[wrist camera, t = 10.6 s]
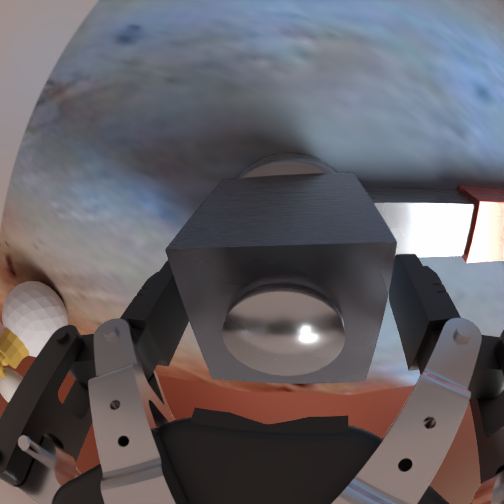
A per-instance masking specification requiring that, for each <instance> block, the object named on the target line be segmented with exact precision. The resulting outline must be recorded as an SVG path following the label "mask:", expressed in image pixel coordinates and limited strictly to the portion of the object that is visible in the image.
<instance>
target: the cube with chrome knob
mask: <svg viewBox="0 0 504 504" xmlns="http://www.w3.org/2000/svg"><path fill="white" fill-rule="evenodd" d="M396 246H397V241H396V239H395V237H394V236H393V234H392V232H391V230H390V229H389V227H388V225H387V224H386V222H385V220H384V219H383V217H382V215H381V214H380V212H379V211H378V209H377V207H376V206H375V204H374V203H373V201H372V200H371V198H370V197H369V195H368V194H367V192H366V191H365V189H364V188H363V186H362V185H361V183H360V182H359V180H358V179H357V177H356V176H355V174H354V173H311V174H290V175H273V176H259V177H247V178H236V179H225V180H222V181H221V182H220V184H219V185H218V186H217V187H216V188H215V189H214V190H213V192H212V193H211V194H210V195H209V196H208V198H207V199H206V200H205V201H204V202H203V203H202V205H201V206H200V207H199V208H198V209H197V211H196V212H195V213H194V214H193V216H192V217H191V218H190V219H189V220H188V222H187V223H186V224H185V225H184V227H183V228H182V229H181V230H180V232H179V233H178V234H177V235H176V237H175V238H174V239H173V240H172V242H171V243H170V244H169V246H168V247H167V248H166V249H165V250H166V253H167V257H168V260H169V263H170V266H171V269H172V272H173V275H174V278H175V281H176V284H177V287H178V290H179V293H180V296H181V299H182V302H183V305H184V307H185V310H186V313H187V316H188V318H189V321H190V324H191V326H192V329H193V332H194V334H195V337H196V340H197V342H198V345H199V347H200V350H201V352H202V355H203V357H204V360H205V362H206V365H207V367H208V369H209V372H210V374H211V376H212V379H220V380H231V381H245V382H262V383H339V382H357V381H365V380H366V377H367V374H368V370H369V367H370V364H371V361H372V357H373V354H374V350H375V347H376V343H377V340H378V336H379V332H380V328H381V324H382V320H383V316H384V311H385V307H386V302H387V298H388V293H389V288H390V283H391V277H392V272H393V266H394V260H395V253H396Z"/></svg>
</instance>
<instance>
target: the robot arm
mask: <svg viewBox="0 0 504 504" xmlns="http://www.w3.org/2000/svg"><path fill="white" fill-rule="evenodd" d="M389 301H390V305H391V308H392V311H393V315H394V318H395V321H396V325H397V328H398V331H399V335H400V338H401V342H402V346H403V350H404V353H405V357H406V361H407V365H408V370H409V371H410V370H417V369H419V370H420V374H421V376H420V377H419V379H418V381H417V383H416V385H415V387H414V389H413V390H412V392H411V394H410V396H409V398H408V399H407V401H406V403H405V405H404V406H403V408H402V409H401V411H400V413H399V414H398V416H397V418H396V419H395V421H394V422H393V424H392V425H391V427H390V428H389V430H388V431H387V433H386V434H385V435H384V437H383V438H382V439H381V438H380V437H378V436H376V435H375V434H373V433H371V432H369V431H367V430H364V429H361V428H358V427H355V426H349V425H348V416H335V417H334V416H333V417H307V418H302V419H298V420H293V421H287V422H282V423H276V424H263V423H260V422H256V421H253V420H250V419H247V418H244V417H241V416H238V415H235V414H232V413H229V412H221V411H213V410H206V409H199V408H195V409H194V412H193V415H192V417H188V418H182V419H178V420H175V419H174V417H173V416H172V414H171V412H170V410H169V407H168V404H167V402H166V399H165V396H164V394H163V391H162V388H161V385H160V382H159V379H158V376H157V374H156V372H155V368H156V366H157V365H163V366H169V364H170V362H171V359H172V357H173V355H174V353H175V350H176V348H177V346H178V344H179V342H180V339H181V337H182V335H183V333H184V331H185V328H186V326H187V324H188V322H189V318H188V316H187V313H186V310H185V307H184V305H183V302H182V299H181V296H180V293H179V290H178V287H177V284H176V281H175V278H174V275H173V272H172V269H171V266H170V263H169V260H168V261H167V262H166V263H165V264H164V266H163V267H162V268H161V270H160V271H159V272H157V273H155V274H154V275H153V276H151V277H150V278H149V279H148V280H147V281H146V282H145V284H144V285H143V286H142V289H140V291H139V292H138V293H137V296H135V298H134V299H133V300H132V302H131V303H130V305H129V306H128V308H127V309H126V310H125V312H124V313H123V315H122V316H121V318H120V319H119V318H117V319H111V320H108V321H106V322H104V323H103V324H101V325H100V326H99V327H98V328H97V330H96V331H95V333H94V334H89V335H80V333H79V332H78V330H77V328H76V327H75V326H73V325H66V326H63V327H61V328H59V329H58V330H56V331H55V332H54V333H53V334H52V336H51V337H50V338H49V340H48V341H47V343H46V344H45V346H44V347H43V348H42V350H41V351H40V353H39V354H38V356H37V357H36V359H35V360H34V362H33V363H32V365H31V367H30V368H29V370H28V371H27V373H26V374H25V376H24V378H23V379H22V381H21V383H20V384H19V386H18V388H17V389H16V391H15V393H14V394H13V396H12V398H11V400H10V401H9V403H8V405H7V407H6V409H5V411H4V413H3V415H2V416H1V418H0V479H2V480H4V481H5V482H7V483H8V484H9V485H11V486H12V487H14V488H16V489H18V490H20V491H22V492H24V493H25V494H27V495H28V496H29V497H31V498H32V499H33V500H35V501H36V502H37V503H39V504H449V503H448V502H447V501H446V500H445V499H444V498H443V497H442V496H441V495H439V494H438V493H437V492H436V491H435V490H434V489H433V488H432V487H431V486H430V483H431V481H432V479H433V478H434V476H435V474H436V473H437V471H438V469H439V467H440V465H441V463H442V462H443V460H444V458H445V456H446V454H447V452H448V450H449V448H450V446H451V444H452V442H453V439H454V437H455V435H456V433H457V430H458V428H459V426H460V423H461V421H462V418H463V416H464V413H465V411H466V408H467V405H468V403H469V401H470V406H471V411H472V416H473V421H474V426H475V432H476V439H477V446H478V453H479V463H480V475H481V476H480V477H481V485H480V486H479V487H478V489H477V491H476V492H475V494H474V497H473V499H472V500H471V502H470V504H504V330H503V332H502V334H501V336H500V337H493V336H485V335H481V332H480V330H479V329H478V327H477V326H476V325H475V324H474V323H472V322H471V321H469V320H467V319H464V318H461V317H460V315H459V313H458V311H457V309H456V307H455V306H454V304H453V302H452V300H451V298H450V296H449V294H448V293H447V292H446V289H445V287H444V285H442V282H441V280H440V278H439V277H438V275H437V274H436V273H435V272H434V271H433V270H432V269H430V268H429V267H428V266H422V264H421V262H420V260H419V259H418V257H417V255H416V254H397V255H396V256H395V260H394V266H393V272H392V277H391V283H390V288H389ZM68 372H69V373H70V374H71V375H72V377H73V378H74V379H75V382H74V384H73V386H72V387H71V389H70V392H69V393H68V395H67V397H66V399H65V401H64V403H63V404H62V403H61V402H60V401H59V399H58V390H59V387H60V386H61V384H62V382H63V380H64V379H65V377H66V375H67V373H68ZM92 422H93V427H94V433H95V439H96V444H97V449H98V453H99V458H100V463H101V464H99V465H97V466H96V467H94V468H92V469H90V470H88V471H87V472H85V473H83V474H81V473H80V471H79V470H77V469H76V460H77V458H78V456H79V453H80V451H81V448H82V445H83V443H84V441H85V438H86V436H87V434H88V431H89V429H90V427H91V424H92Z"/></svg>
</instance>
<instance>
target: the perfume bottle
mask: <svg viewBox="0 0 504 504" xmlns="http://www.w3.org/2000/svg"><path fill="white" fill-rule="evenodd" d="M2 320H3V325H4V331H3V334H2V337H1V338H0V393H1V394H2V396H3V397H4V399H5V400H6V401H7V402H9V401H10V400H11V398H12V396H13V394H14V393H15V391H16V389H17V388H18V386H19V384H20V383H21V381H22V379H23V377H21V375H20V374H19V373H17V372H16V371H14V370H12V369H9V368H3V366H6V365H8V364H9V365H10V366H12V367H13V368H16V367H17V366H18V364H19V363H20V362H21V360H22V359H23V358H24V357H26V356H28V355H29V356H34V357H37V356H38V354H39V353H40V351H41V350H42V348H43V347H44V346H45V344H46V343H47V341H48V340H49V338H50V337H51V336H52V334H53V333H54V332H55V331H56V330H58V329H59V328H61V327H63V326H66V325H68V316H67V312H66V309H65V306H64V303H63V302H62V300H61V299H60V297H59V296H58V295H57V293H56V292H55V291H53V290H52V289H51V288H50V287H49V286H48V285H45V284H43V283H41V282H39V281H27V282H24V283H21V284H18V285H17V286H16V287H14V288H13V289H12V290H11V291H10V293H9V294H8V295H7V297H6V299H5V302H4V305H3V311H2Z"/></svg>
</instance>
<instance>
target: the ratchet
mask: <svg viewBox="0 0 504 504" xmlns="http://www.w3.org/2000/svg"><path fill="white" fill-rule="evenodd" d="M311 173H337V172H336V171H335V170H334V169H333V168H332V167H330V166H329V165H328V164H326V163H325V162H323V161H321V160H319V159H317V158H314V157H312V156H309V155H305V154H299V153H280V154H274V155H270V156H267V157H265V158H262V159H260V160H258V161H256V162H255V163H253V164H251V165H250V166H249V167H248V168H246V169H245V170H244V171H243V172H242V173H241V174H240V176H239V177H238V178H247V177H259V176H273V175H290V174H311ZM364 189H365V191H366V192H367V194H368V195H369V197H370V198H371V200H372V201H373V203H374V204H375V206H376V207H377V209H378V211H379V212H380V214H381V215H382V217H383V219H384V220H385V222H386V224H387V225H388V227H389V229H390V230H391V232H392V234H393V236H394V237H395V239H396V241H397V246H396V253H395V256H396V255H397V254H416V255H417V257H439V256H460V255H461V256H462V258H463V259H464V260H465V261H466V263H471V262H486V261H501V260H504V189H497V188H487V187H476V186H462V185H458V190H445V189H418V188H364Z"/></svg>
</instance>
